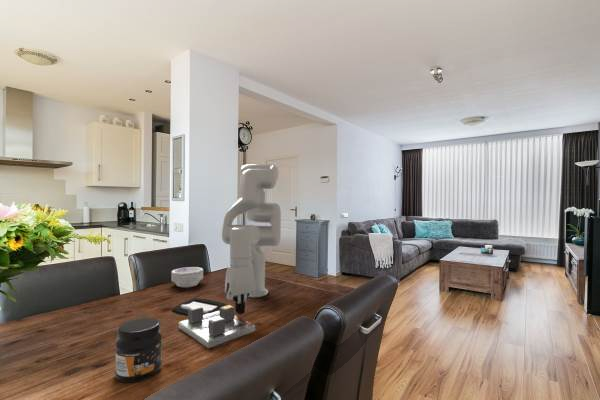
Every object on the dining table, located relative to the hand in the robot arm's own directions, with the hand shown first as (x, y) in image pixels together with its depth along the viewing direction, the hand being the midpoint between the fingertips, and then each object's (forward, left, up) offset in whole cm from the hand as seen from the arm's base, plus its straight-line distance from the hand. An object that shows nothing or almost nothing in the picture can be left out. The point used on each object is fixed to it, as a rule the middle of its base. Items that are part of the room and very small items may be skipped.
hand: (240, 312), depth 109 cm
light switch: (-21, -4, -4) cm, 22 cm away
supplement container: (+9, -36, -3) cm, 38 cm away
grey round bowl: (-58, +8, -4) cm, 59 cm away
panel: (0, -9, -3) cm, 10 cm away
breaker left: (-7, -13, -1) cm, 15 cm away
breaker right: (+7, -13, -1) cm, 15 cm away
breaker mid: (0, -5, -1) cm, 5 cm away
